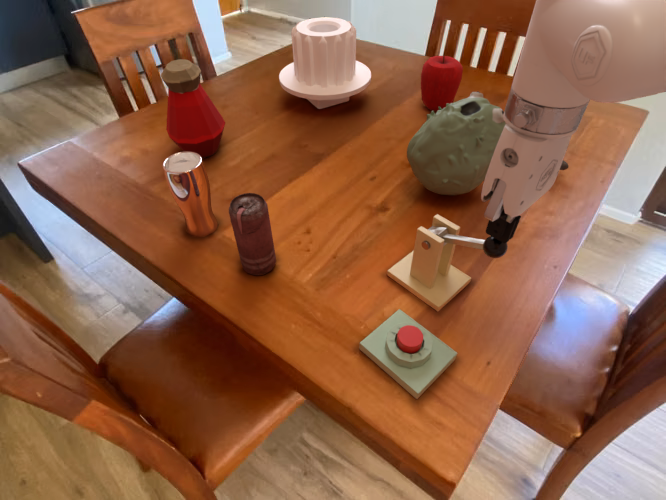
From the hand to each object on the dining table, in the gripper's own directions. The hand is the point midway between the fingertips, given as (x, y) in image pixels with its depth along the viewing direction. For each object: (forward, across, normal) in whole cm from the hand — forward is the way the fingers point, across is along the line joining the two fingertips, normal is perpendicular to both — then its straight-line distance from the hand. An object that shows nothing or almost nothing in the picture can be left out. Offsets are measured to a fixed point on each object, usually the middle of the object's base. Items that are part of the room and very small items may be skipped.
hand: (498, 235), depth 58 cm
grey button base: (+16, -14, +2) cm, 22 cm away
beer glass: (+17, -21, +48) cm, 55 cm away
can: (+17, -19, +32) cm, 41 cm away
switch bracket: (+16, 0, +9) cm, 19 cm away
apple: (+17, +51, +46) cm, 71 cm away
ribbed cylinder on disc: (+17, +33, +71) cm, 80 cm away
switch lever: (+6, 0, +4) cm, 7 cm away
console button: (+13, -14, +2) cm, 19 cm away
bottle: (+17, -6, +73) cm, 75 cm away
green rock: (+17, +23, +22) cm, 36 cm away
